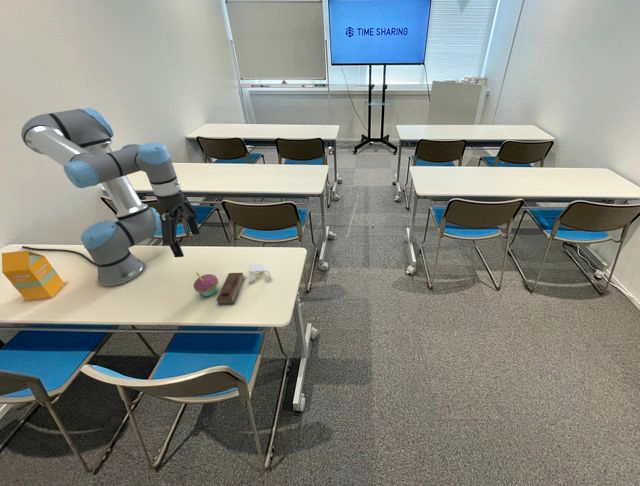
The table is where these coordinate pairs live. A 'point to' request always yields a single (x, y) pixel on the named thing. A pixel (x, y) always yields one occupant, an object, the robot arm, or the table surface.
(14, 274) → the orange juice
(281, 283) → the table surface
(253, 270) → the origami figure
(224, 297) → the brown rectangular panel
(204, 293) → the cupcake
